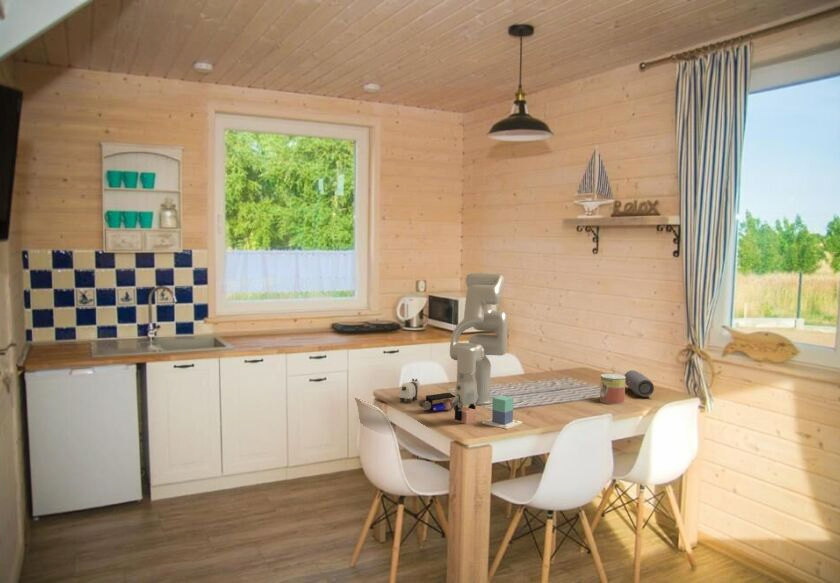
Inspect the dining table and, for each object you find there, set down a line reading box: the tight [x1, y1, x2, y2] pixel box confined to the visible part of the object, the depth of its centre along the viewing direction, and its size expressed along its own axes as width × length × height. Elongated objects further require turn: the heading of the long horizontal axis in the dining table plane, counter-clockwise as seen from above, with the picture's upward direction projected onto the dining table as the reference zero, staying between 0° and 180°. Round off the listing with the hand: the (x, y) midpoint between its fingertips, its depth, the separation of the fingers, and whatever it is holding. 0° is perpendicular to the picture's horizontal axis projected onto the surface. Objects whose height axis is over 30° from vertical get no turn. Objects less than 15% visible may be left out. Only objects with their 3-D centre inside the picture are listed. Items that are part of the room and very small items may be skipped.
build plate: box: [481, 409, 524, 430], centre depth 267 cm, size 12×12×6 cm
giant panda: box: [398, 378, 421, 404], centre depth 303 cm, size 15×6×10 cm, turn 152°
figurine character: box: [417, 392, 455, 414], centre depth 284 cm, size 7×8×15 cm
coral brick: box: [454, 406, 477, 425], centre depth 270 cm, size 6×6×5 cm
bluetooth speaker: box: [624, 370, 655, 397], centre depth 324 cm, size 23×9×10 cm, turn 178°
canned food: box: [599, 373, 626, 405], centre depth 307 cm, size 11×11×12 cm
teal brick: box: [492, 395, 514, 413], centre depth 267 cm, size 6×6×5 cm
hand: (465, 417), depth 270 cm, fingers open, 9 cm apart
